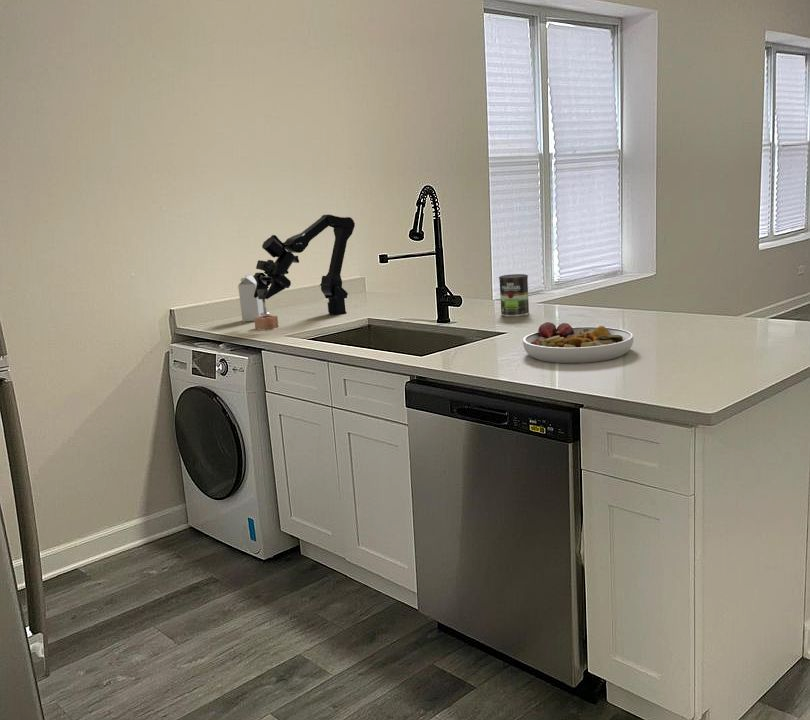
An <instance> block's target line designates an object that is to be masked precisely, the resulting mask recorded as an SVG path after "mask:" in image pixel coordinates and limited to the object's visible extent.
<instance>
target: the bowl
mask: <svg viewBox="0 0 810 720" xmlns="http://www.w3.org/2000/svg"><path fill="white" fill-rule="evenodd" d="M537 330H538V331H536V332H533V333H530V334H527V335H525V336H524V337H523V338H522V345H523V349H524V351H525V352H526V353H527V354H528V355H529V356H530V357H532V358H533V359H536V360H538V361H542V362H546V363H553V364H554V363H555V364H588V363H598V362H604V361H611V360H613V359H617V358H619V357H622V356H623V355H625V354H626V353H628V352H629V351H630V350H631V348H633V347H632V346H633V344H634V333H632V332H630V331H628V330H626V329H622V328H616V327H615V328H614V327H605V326H604V325H600V326H571V324H569V323H567V322H564V323H563V322H562V323H560V324H559V325H558V326H556V324H555V323H553V322H550V321H547V322H544V323H542V324H541V325H539V327H538V329H537Z"/></svg>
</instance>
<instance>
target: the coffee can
mask: <svg viewBox="0 0 810 720" xmlns="http://www.w3.org/2000/svg"><path fill="white" fill-rule="evenodd" d="M528 278H529V274H525V273H524V274H523V273H520V274H519V273H516V274H515V273H514V274H504V275H499V277H498V280H499V294H500V298H499V299H500V315H501V316H502V317H507V318H512V317H513V318H515V317H516V318H517V317H524V315H525V316H529V315H530V308H529V307H530V306H529V300H530V299H529V281H528Z"/></svg>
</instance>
